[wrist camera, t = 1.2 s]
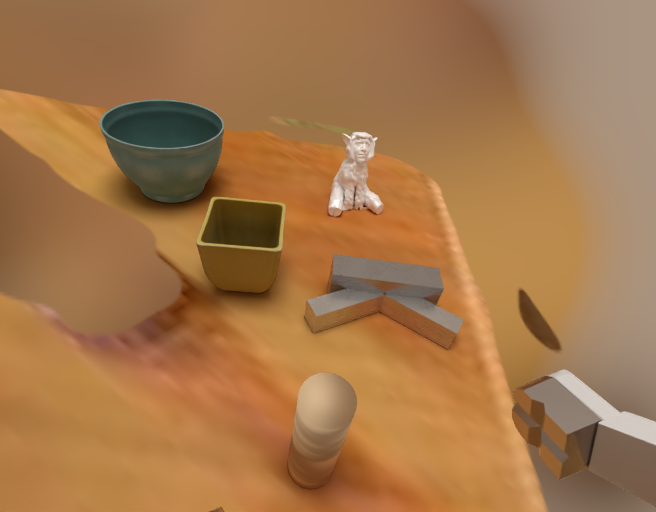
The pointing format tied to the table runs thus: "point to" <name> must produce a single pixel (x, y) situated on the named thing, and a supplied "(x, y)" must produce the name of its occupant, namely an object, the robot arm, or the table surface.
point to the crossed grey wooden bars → (384, 297)
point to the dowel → (320, 428)
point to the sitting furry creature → (354, 177)
